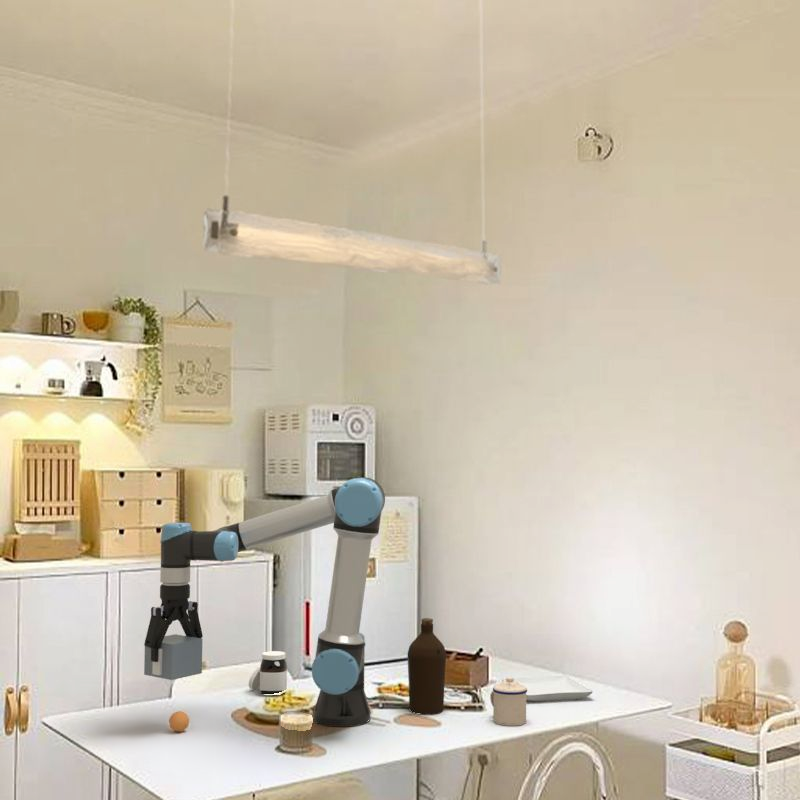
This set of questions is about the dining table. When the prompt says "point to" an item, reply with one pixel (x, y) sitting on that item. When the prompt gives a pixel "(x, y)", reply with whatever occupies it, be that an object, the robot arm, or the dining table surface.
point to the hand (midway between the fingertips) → (173, 670)
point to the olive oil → (426, 671)
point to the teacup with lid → (509, 703)
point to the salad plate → (553, 688)
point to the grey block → (177, 657)
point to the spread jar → (270, 673)
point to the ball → (179, 721)
